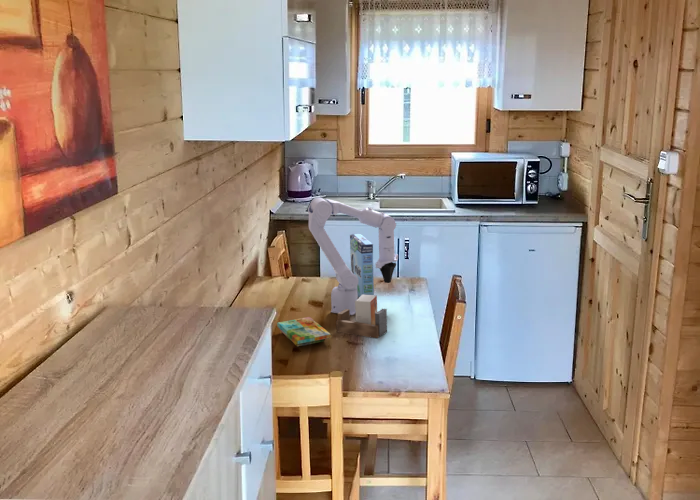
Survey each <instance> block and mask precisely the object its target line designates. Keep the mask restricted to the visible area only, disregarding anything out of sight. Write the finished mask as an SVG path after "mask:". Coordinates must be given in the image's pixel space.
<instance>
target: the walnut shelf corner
mask: <svg viewBox="0 0 700 500" xmlns="http://www.w3.org/2000/svg"><path fill="white" fill-rule="evenodd" d="M335 322H336V325H335V326H336V332H337V333H342V334H343V333H344V334H348V335H355V336H360V337H366V338H372V339H378V338H380V337H379V325H372V324H366V323H359V322H356V321H351V315H350V310H349V309H345V310H343V311H341V312H340V313H337V320H336V321H335Z"/></svg>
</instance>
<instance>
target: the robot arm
mask: <svg viewBox="0 0 700 500" xmlns="http://www.w3.org/2000/svg"><path fill="white" fill-rule="evenodd" d="M307 212H308V230H309V231H310V233H311V235H312V236H313V238H314V240H315V241H316V242H317V244H318V246H319V248H320V249H321V251H322V253H323V254H324V256H325V257H326V259H327V261H328V262H329V265H331V267H332V270H333V272H334V273H335V279H336V280H337V281H336V282H337V283H338V285H337V286H334V287H333V288H332V290H331V292H330V299H331V301H330V302H331V303H330V304H331V305H330V306H331V310H330V313H333V314H338V313H340V312H341V311H343V310H345V309H349V310H350V316H354V315H356V311H355V301H356V300H357V299H358V298H359V297H358V294H357V285H358V282H359V281H358V277H357V276H356V275H355V274H353V273H352V272H351V268H350V267H348V265H347V264H346V262H345V261H344V259H343V257H342V255H340V253H339V251H338V249H337V248H336V246H335V244H334V243H333V241H332V239H331V238H330V236H329V234H328V233H327V231H326V230H325V225H326V222H327V221H328V219H329V218H330V217H331V215H333V216H335V215H337V214H343V215H346V216H350V217H353V218H357V219H358V221H359V223H361V224H363V225H366V226H370V227H371V228H372V227H373V228H377V229H378V252H379V253H378V257H379V258H378V259H377V261H376V262H375V269H379V271H380V273H381V275H382V278H383V282H384V283H385V284H390V283H391V282H392V278H393V274H394V271H395V268H396V266H397V263H396V262H398V259H399V254H398V253H395V229H396V228H397V227H396V226H397V223H396V220H395V219H394V217H392V216H390V215H388V214H387V213H385V212H383V211H380V212H379V211H377V210H373V208H372V207H370V206H369V207H363V208H362V209H359V208H358V207H357V208H356V207H354V206H351V205H348V204H346V203H342V202H340V201H338V200H333V199H329V198H325V199H324V198H323V197H321V196H319V197H318V196H317V197H315V198H313V199H312V200H311V202H310V203H309V206H308V209H307Z"/></svg>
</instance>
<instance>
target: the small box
mask: <svg viewBox="0 0 700 500" xmlns="http://www.w3.org/2000/svg"><path fill="white" fill-rule="evenodd" d="M355 311H356V314H355V322H359V323H366V324H372V325H375V313H377V312H378V297H377V295H375V294H374V295H361V296H360V297H358V299H357V300H356V301H355Z"/></svg>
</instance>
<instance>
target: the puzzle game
mask: <svg viewBox="0 0 700 500" xmlns="http://www.w3.org/2000/svg"><path fill="white" fill-rule="evenodd" d="M276 324H277V326H276V327H277V328H278V329H279V330H280V331H281V333H282V334H283V335H284V336H285V337H286V338H287V339H289V340H290V341H291V342H292V343H293V344H294V345H295V346H296V347H301V346H302V347H303V346H307V345H311V344H312V345H313V344H318V343H322V342H323V343H324V342H325V340H327V339H331V338H332V334H331V333H330V331H328V330H327V329H325V328H324V327H323V326H321V325H320V323H318V322H316V321H315V320H314V319H313V318H312V317H310V316H307V317H301V318H295V319H290V320H285V321H279V322H276Z"/></svg>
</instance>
